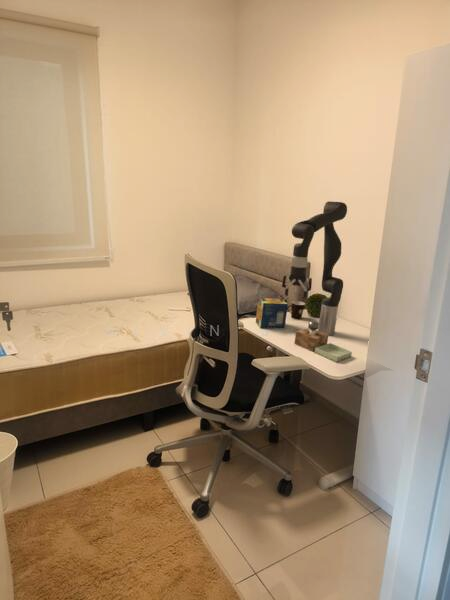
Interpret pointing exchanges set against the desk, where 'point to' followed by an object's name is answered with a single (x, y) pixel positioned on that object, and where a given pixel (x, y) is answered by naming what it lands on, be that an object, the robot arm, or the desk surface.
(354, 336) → the desk surface
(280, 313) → the protein box
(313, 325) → the steel pin
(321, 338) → the brown wooden block
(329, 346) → the sage tray
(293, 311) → the coffee mug
